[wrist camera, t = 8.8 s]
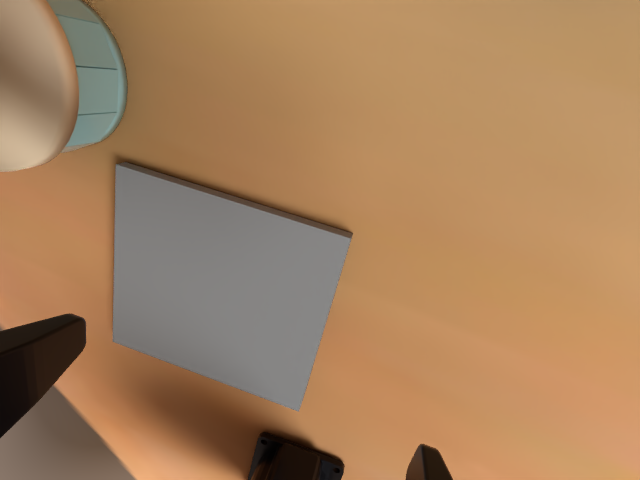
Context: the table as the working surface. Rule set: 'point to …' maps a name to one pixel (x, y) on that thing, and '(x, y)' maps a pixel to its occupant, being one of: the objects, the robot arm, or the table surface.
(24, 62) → the lid
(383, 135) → the table surface
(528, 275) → the table surface
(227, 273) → the mat
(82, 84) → the bowl
